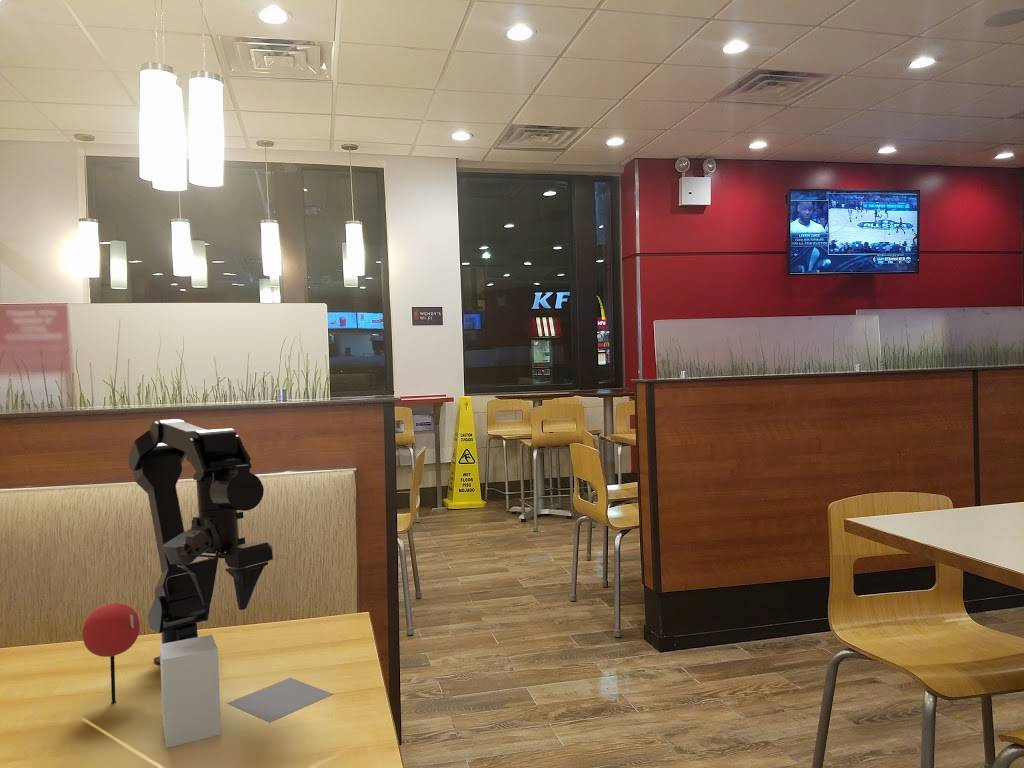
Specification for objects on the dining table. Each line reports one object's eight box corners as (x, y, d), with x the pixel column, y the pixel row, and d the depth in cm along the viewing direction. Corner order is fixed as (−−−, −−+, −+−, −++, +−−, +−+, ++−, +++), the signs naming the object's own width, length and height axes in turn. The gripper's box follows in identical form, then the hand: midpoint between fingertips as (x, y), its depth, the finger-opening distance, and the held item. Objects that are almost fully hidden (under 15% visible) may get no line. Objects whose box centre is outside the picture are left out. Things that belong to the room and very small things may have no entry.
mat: (227, 705, 109) (227, 702, 109) (290, 680, 117) (290, 677, 117) (269, 725, 102) (269, 722, 102) (333, 696, 111) (333, 693, 111)
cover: (163, 729, 102) (159, 644, 102) (215, 717, 105) (211, 634, 105) (166, 750, 96) (162, 659, 96) (221, 736, 99) (217, 649, 99)
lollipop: (84, 718, 106) (79, 616, 106) (87, 698, 113) (83, 602, 113) (142, 705, 110) (138, 606, 110) (142, 687, 117) (138, 594, 117)
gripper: (135, 515, 114) (142, 616, 114) (207, 517, 104) (214, 628, 103) (200, 504, 123) (206, 597, 123) (272, 505, 113) (279, 606, 113)
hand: (224, 606), depth 115 cm, fingers open, 9 cm apart
